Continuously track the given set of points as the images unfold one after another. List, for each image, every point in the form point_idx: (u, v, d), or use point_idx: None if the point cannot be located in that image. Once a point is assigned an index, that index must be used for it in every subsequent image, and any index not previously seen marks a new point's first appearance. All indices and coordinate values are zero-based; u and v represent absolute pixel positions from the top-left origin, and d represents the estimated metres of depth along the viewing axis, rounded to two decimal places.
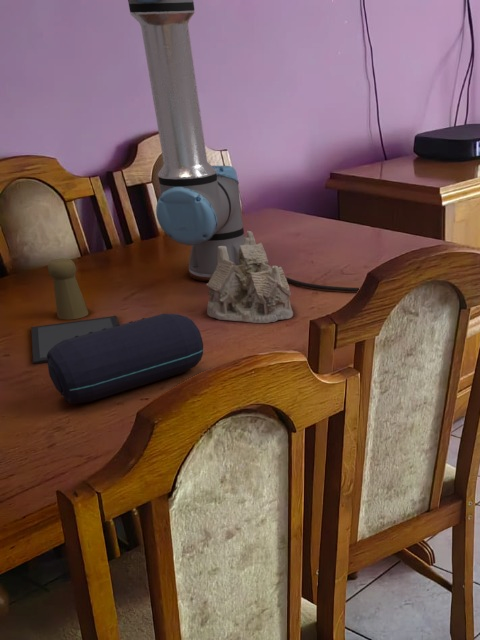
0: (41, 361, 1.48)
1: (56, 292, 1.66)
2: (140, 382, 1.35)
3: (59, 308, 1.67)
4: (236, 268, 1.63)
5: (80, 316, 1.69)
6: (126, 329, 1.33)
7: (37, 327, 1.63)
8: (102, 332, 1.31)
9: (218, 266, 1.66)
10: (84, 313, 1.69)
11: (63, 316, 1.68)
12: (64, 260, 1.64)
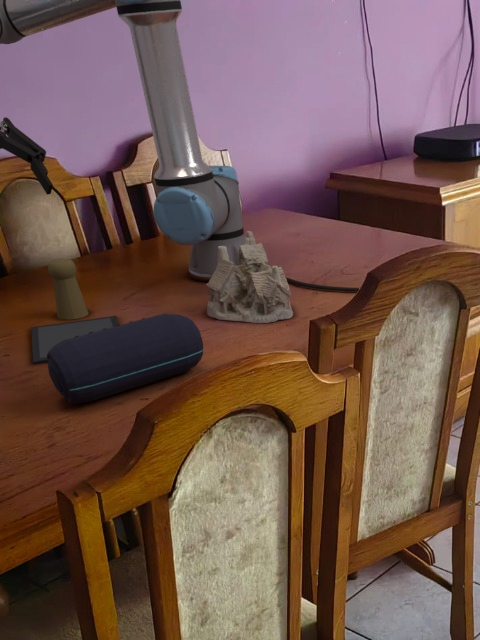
0: (41, 361, 1.48)
1: (56, 292, 1.66)
2: (140, 382, 1.35)
3: (59, 308, 1.67)
4: (236, 268, 1.63)
5: (80, 316, 1.69)
6: (126, 329, 1.33)
7: (37, 327, 1.63)
8: (102, 332, 1.31)
9: (218, 266, 1.66)
10: (84, 313, 1.69)
11: (63, 316, 1.68)
12: (64, 260, 1.64)
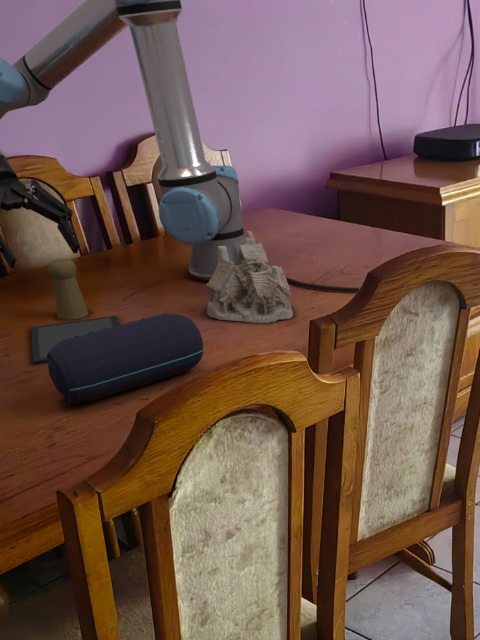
0: (41, 361, 1.48)
1: (56, 292, 1.66)
2: (140, 382, 1.35)
3: (59, 308, 1.67)
4: (236, 268, 1.63)
5: (80, 316, 1.69)
6: (126, 329, 1.33)
7: (37, 327, 1.63)
8: (102, 332, 1.31)
9: (218, 266, 1.66)
10: (84, 313, 1.69)
11: (63, 316, 1.68)
12: (64, 260, 1.64)
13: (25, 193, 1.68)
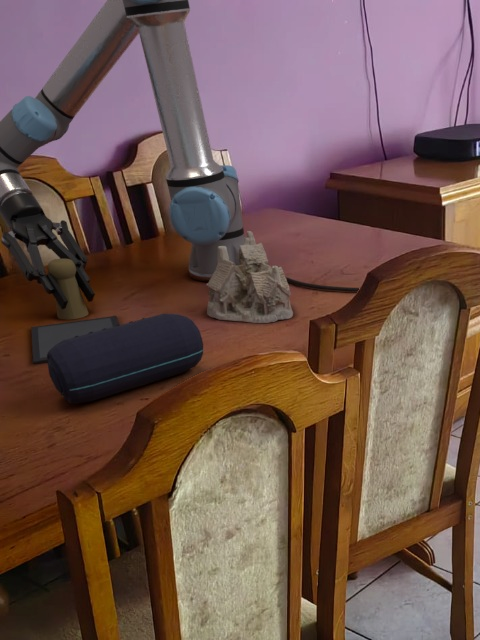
0: (41, 361, 1.48)
1: None
2: (140, 382, 1.35)
3: (59, 308, 1.67)
4: (236, 268, 1.63)
5: (80, 316, 1.69)
6: (126, 329, 1.33)
7: (37, 327, 1.63)
8: (102, 332, 1.31)
9: (218, 266, 1.66)
10: (84, 313, 1.69)
11: (63, 316, 1.68)
12: (64, 260, 1.64)
13: (49, 232, 1.67)
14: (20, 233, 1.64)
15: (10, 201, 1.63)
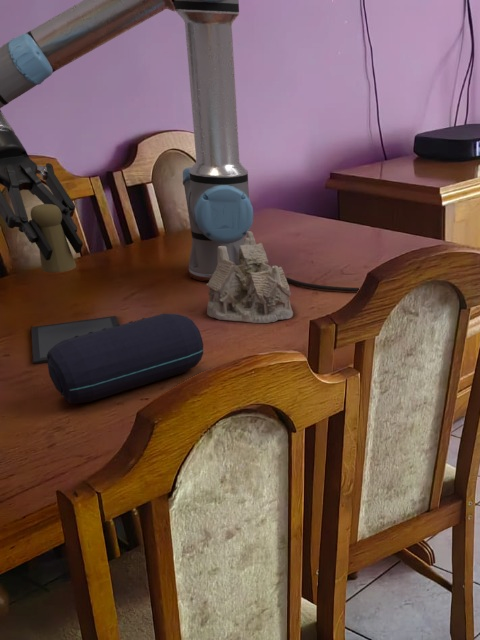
0: (41, 361, 1.48)
1: None
2: (140, 382, 1.35)
3: (43, 259, 1.52)
4: (236, 268, 1.63)
5: (67, 269, 1.53)
6: (126, 329, 1.33)
7: (37, 327, 1.63)
8: (102, 332, 1.31)
9: (218, 266, 1.66)
10: (71, 266, 1.53)
11: (48, 269, 1.52)
12: (48, 205, 1.48)
13: (33, 175, 1.51)
14: (0, 175, 1.48)
15: None
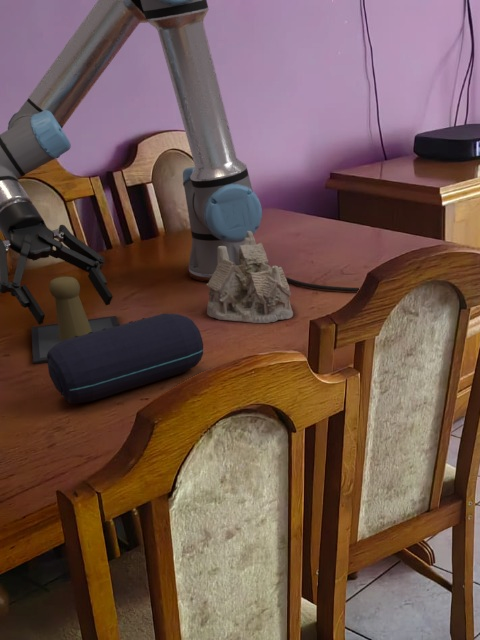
0: (41, 361, 1.48)
1: (58, 313, 1.53)
2: (140, 382, 1.35)
3: (61, 329, 1.55)
4: (236, 268, 1.63)
5: None
6: (126, 329, 1.33)
7: (37, 327, 1.63)
8: (102, 332, 1.31)
9: (218, 266, 1.66)
10: None
11: None
12: (67, 278, 1.51)
13: (53, 241, 1.54)
14: (19, 245, 1.51)
15: (7, 211, 1.50)
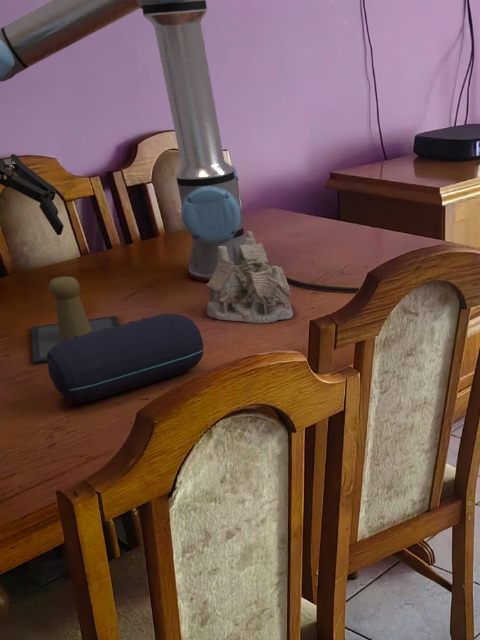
0: (41, 361, 1.48)
1: (58, 313, 1.53)
2: (140, 382, 1.35)
3: (61, 329, 1.55)
4: (236, 268, 1.63)
5: None
6: (126, 329, 1.33)
7: (37, 327, 1.63)
8: (102, 332, 1.31)
9: (218, 266, 1.66)
10: None
11: None
12: (67, 278, 1.51)
13: (4, 169, 1.55)
14: None
15: None
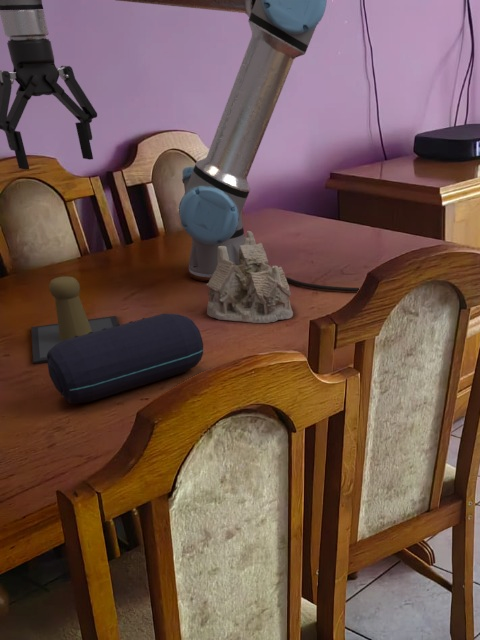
0: (41, 361, 1.48)
1: (58, 313, 1.53)
2: (140, 382, 1.35)
3: (61, 329, 1.55)
4: (236, 268, 1.63)
5: None
6: (126, 329, 1.33)
7: (37, 327, 1.63)
8: (102, 332, 1.31)
9: (218, 266, 1.66)
10: None
11: None
12: (67, 278, 1.51)
13: (57, 87, 1.58)
14: (24, 83, 1.55)
15: (25, 47, 1.51)
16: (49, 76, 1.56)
